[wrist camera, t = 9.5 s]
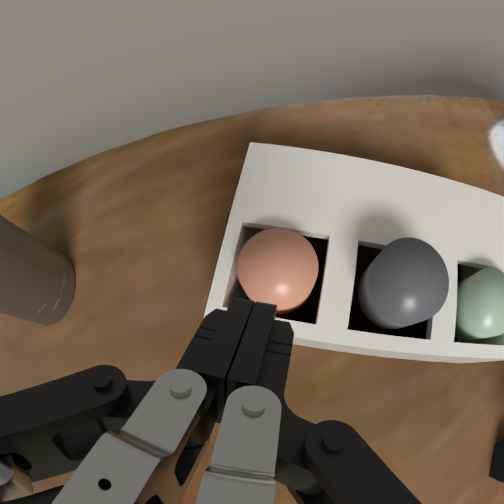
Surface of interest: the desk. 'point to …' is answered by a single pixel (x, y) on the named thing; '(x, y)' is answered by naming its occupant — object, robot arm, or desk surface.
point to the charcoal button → (403, 284)
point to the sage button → (480, 305)
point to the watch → (498, 462)
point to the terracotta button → (278, 269)
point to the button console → (364, 240)
